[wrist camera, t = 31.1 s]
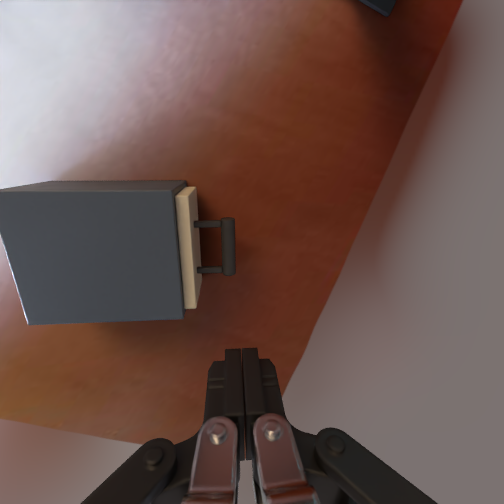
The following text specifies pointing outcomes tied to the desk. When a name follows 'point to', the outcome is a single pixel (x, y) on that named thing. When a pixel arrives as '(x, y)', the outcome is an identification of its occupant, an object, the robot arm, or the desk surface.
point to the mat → (380, 5)
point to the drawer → (191, 245)
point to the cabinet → (94, 250)
